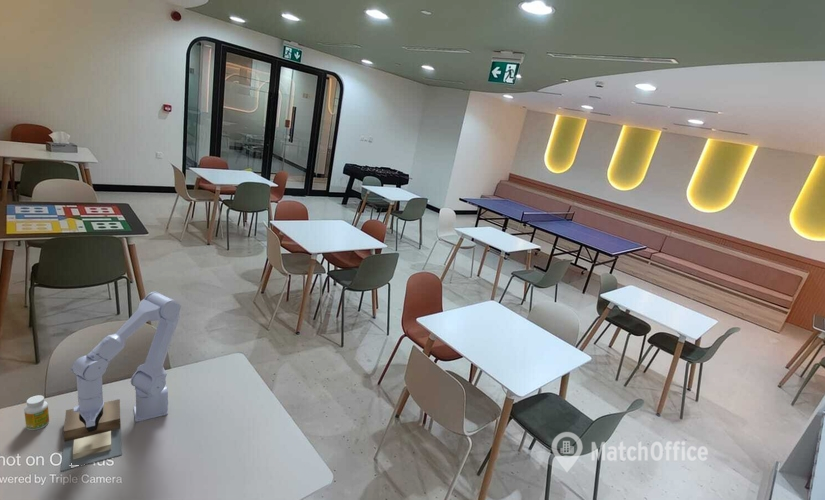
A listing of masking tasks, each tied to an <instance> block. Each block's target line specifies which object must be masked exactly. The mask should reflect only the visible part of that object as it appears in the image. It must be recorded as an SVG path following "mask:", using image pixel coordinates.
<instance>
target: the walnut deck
mask: <svg viewBox="0 0 825 500" xmlns="http://www.w3.org/2000/svg"><path fill="white" fill-rule="evenodd" d="M120 402H121V401H120V398H119V399H115V400H110V401H104V406H103V415H102V417H101V418H100V420H99V423H98V428H97V430H95V431H91V432H88V431H87V429H86V426H85V424H84V423H83V422H82V421H80V419H79V412H74V408H70V409H66V410H65V417H64V424H63V440H64V441H63V443H64V442H65V441H69V440H73V439H77V438H82V437H86V436H90V435H94V434H98V433H102V432H107V431H111V430H115V429H119V428H121V427H122V426H121V425H122V424H121V404H120ZM121 429H122V428H121Z"/></svg>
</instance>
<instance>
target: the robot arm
mask: <svg viewBox="0 0 825 500" xmlns="http://www.w3.org/2000/svg"><path fill="white" fill-rule="evenodd" d="M181 308H182V305H181V304H180V303H179V302H178V300H175V299H173V298H170V297H168V296H166V295H164V294H162V293H160V292H158V291H151V292H149V293H148V294H146V295H145V297H144V298H143V299H141V300H140V302H139V305H138V307H137V310H136V311H134V313H133V314H132V315H131V316H130V317H129V318H128V319H127V320H126V321H125V322H124V324H123V325H121V327H120V328H119V329H118V330H117V331H116V333H113V334H108V335H107V336H106V337H103V338H102V339H101V340H100V342H99V343H98V344H97V345H95V347H94V348H92V350H91V351H90V352H88V353H87V354H86V355H83V356H80V357H79V358H77V359H75V361H74V362H73V365H72V367H70V371H71V372H72V373H73V374H75V376H76V388H77V389H76V390H77V400H78V401H77V402H78V403H77V404H78V405H76V406H74V407H73V409H74V412H79V419H80V421H82V422H83V423H84V424H85V426H86V429H87V431H88V432H91V431H95V430H97V428H98V423H99V420H100V418H101V417H102V415H103V406H104V402H105V401H104V396H103V395H104V391H103V375H104V374H105V373H106V371H107V368H108V366H109V364H110V363H111V360H113V359H114V358H115V357H116V356H117V355H118V354H119V353H120V352H121V351H122V350H123V349H124V348H125V347H126V340H128V338H130V337H131V336H132V335H133V334H134V333H136V332H137V331H138V330H139V329H140V328H141V327H143V326H144V325H145V324H146V323H147V322H155V321H158V324H157V327H156V329H155V333H154V336H153V339H152V341H151V344H150V348H149V349H148V353H147V356H146V358H145V361H144V363H143V364H140V365H138V366H137V368H136V371H135V372H134V373H133V374H132V376H131V377H130V385H131V386H133V387H134V390H135V405H134V406H133V411H134V412H133V414H134V421H135V422H136V423H137V422H141V421H145V420H151V419H155V418H158V417H162V416H167V415H168V413H169V410H168V409H169V408H168V407H169V391H168V387H167V385H166V384H167V383H166V382H167V381H166V377H167V374H168V373H167V372H166V370H165V368H164V363H165V360H166V357H167V355H168V351H169V349H170V347H171V343H172V341H173V337H174V334H175V332H176V329H177V326H178V323H179V319H180V311H181Z"/></svg>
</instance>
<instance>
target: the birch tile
mask: <svg viewBox="0 0 825 500" xmlns="http://www.w3.org/2000/svg"><path fill="white" fill-rule="evenodd" d="M107 450H111V431H108V432H104V433H100V434H96V435H92V436H88V437H84V438H79V439H75V440H74V445H73V459H77V458H81V457H84V456H88V455H92V454H96V453H99V452H103V451H107Z"/></svg>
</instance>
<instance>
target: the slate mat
mask: <svg viewBox="0 0 825 500" xmlns="http://www.w3.org/2000/svg"><path fill="white" fill-rule="evenodd" d="M121 429H122V428H119V429H115V430H111V450H107V451H103V452H99V453H96V454H92V455H88V456H84V457H81V458H77V459H73V445H74V440H75V439H73V440H69V441H65V442H64V441H63V450H62V459H61V466H60V467H61V468H60V472H61V473H62V472H64V471H65V472H66V471H69V470H71V469H70V468H71V466H69V465H71V463H72V465H79V466H80V467H82V466H81V465H84V464H87V465H89V464H88V463H91V464H94V463H93V462H95V463H98V462H102V461H104V460H108V459H109V460H110V459H113V458H116V457H120V456H122V433H121V431H122V430H121ZM107 432H108V431H107ZM102 433H104V432H102ZM98 434H100V433H98ZM94 435H96V434H94ZM90 436H92V435H90ZM86 437H88V436H86ZM82 438H84V437H82ZM77 439H79V438H77ZM84 466H85V465H84Z"/></svg>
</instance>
